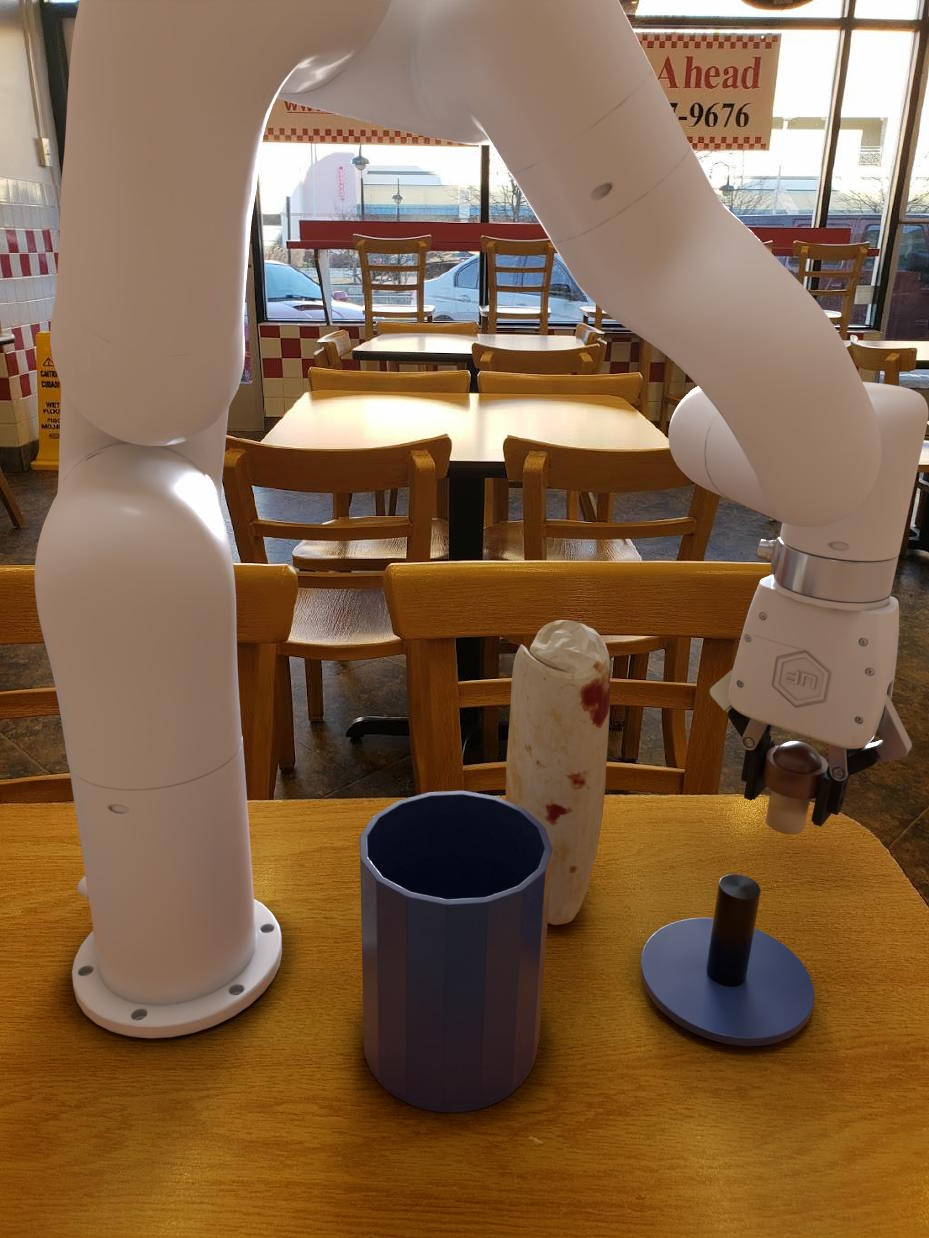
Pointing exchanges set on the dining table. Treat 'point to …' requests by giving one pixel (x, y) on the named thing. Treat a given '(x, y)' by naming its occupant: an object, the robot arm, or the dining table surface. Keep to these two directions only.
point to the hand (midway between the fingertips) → (788, 802)
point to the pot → (453, 947)
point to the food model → (561, 751)
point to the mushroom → (791, 784)
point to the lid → (728, 973)
